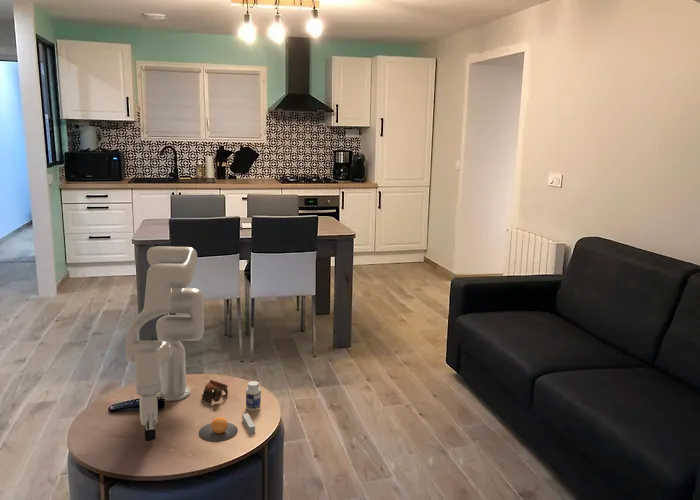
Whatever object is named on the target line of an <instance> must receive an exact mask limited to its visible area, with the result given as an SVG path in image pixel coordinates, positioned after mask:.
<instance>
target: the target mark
mask: <svg viewBox="0 0 700 500" xmlns="http://www.w3.org/2000/svg"><path fill="white" fill-rule="evenodd" d="M211 423H212V422H211ZM211 423H208V424H205V425H203V426H202V427H200V429H199V430H198V436H199V437H200V439H202V440H204V441H207V442H211V443H213V442H214V443H217V442H218V443H219V442H220V443H221V442H225V441H227V440H230V439H232V438H234V437H235V436H236V435H237V434H238V431H239V429H238V427H237V426H236V425H235V424H233V423H230V422H227V423H228V427H227V429H226V431H225V432H223V433H221V434H217V433H215V432H213V430H212V428H211Z"/></svg>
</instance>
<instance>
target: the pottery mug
mask: <svg viewBox="0 0 700 500" xmlns="http://www.w3.org/2000/svg"><path fill="white" fill-rule="evenodd" d="M228 387H229V385H227V383H226V384H225V383H222V382H219V381H217V380H213V379H209V382H208V383H207V384H205V386H204V390H203V393H202V394H201V401H202V402H204V403H207V404H210V405H211V404H212V403H213V402H214V403H216V402H217V403H218V402H219V401H220V399H221V396H222V395H223V392H224V393H225V397H228V394H229V390H228ZM212 401H213V402H212Z"/></svg>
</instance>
